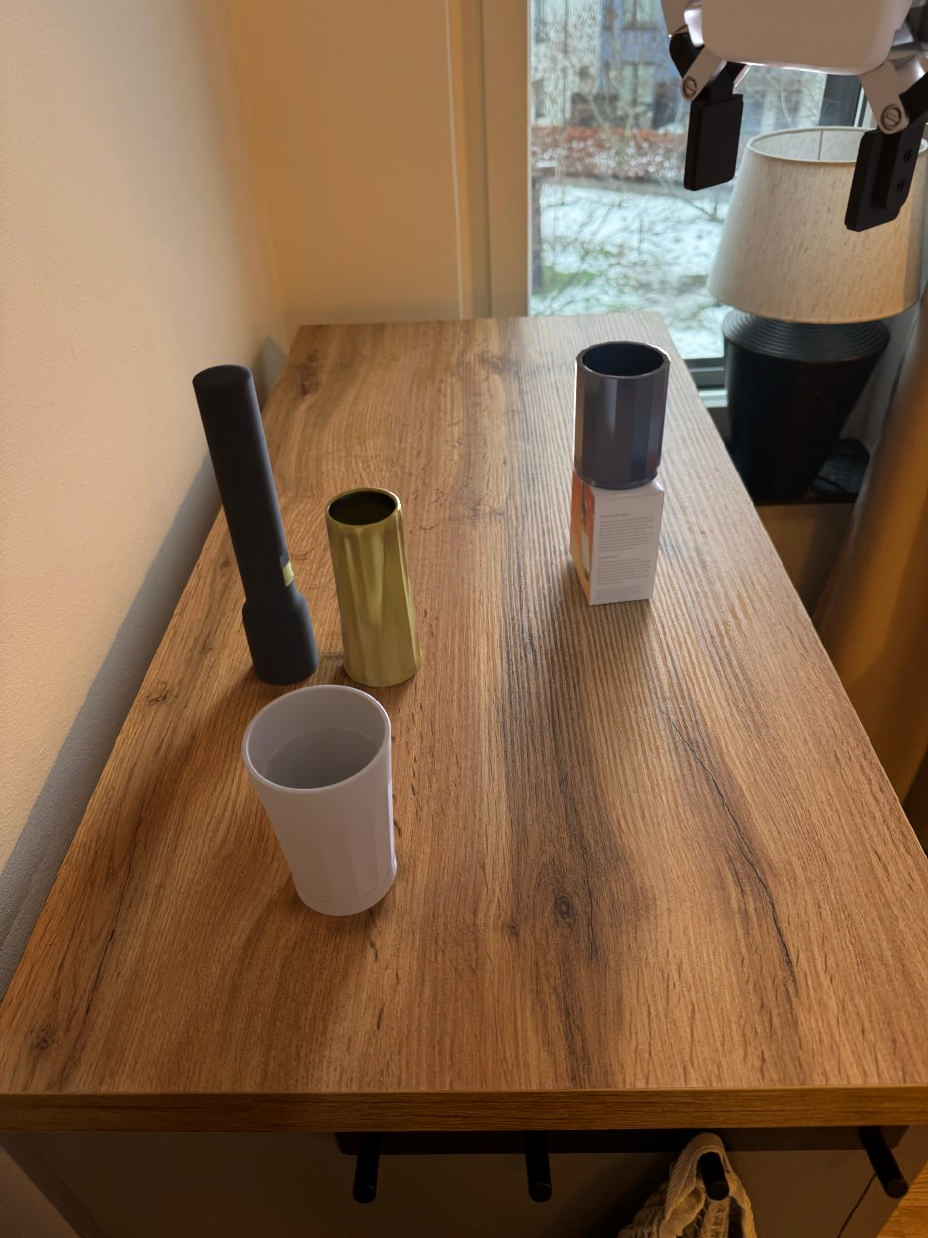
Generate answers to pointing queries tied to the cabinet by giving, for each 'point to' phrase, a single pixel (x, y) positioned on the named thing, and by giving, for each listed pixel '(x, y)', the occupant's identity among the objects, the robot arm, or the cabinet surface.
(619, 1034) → the cabinet surface
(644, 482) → the tumbler
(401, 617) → the vase
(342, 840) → the cup
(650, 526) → the small box
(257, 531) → the flashlight
